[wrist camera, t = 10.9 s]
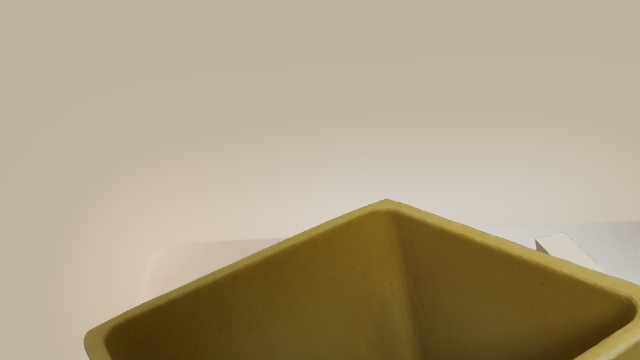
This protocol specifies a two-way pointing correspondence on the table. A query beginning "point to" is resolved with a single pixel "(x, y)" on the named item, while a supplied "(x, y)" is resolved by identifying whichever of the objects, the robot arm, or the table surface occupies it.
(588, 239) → the table surface
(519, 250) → the flower pot
